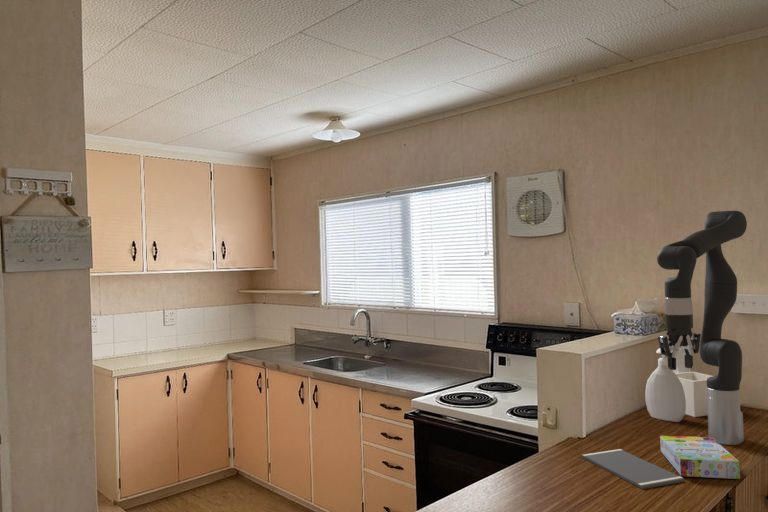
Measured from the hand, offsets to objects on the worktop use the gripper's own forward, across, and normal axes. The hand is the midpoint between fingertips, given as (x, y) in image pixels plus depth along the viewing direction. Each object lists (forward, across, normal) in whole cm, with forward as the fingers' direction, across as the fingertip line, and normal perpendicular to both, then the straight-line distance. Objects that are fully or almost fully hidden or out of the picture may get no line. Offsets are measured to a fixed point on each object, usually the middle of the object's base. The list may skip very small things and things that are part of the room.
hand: (680, 368), depth 171 cm
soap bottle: (+28, -26, -34) cm, 51 cm away
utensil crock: (+27, -42, -38) cm, 63 cm away
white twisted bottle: (+28, -49, -51) cm, 76 cm away
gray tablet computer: (+27, +20, 0) cm, 34 cm away
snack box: (+25, +7, +1) cm, 26 cm away
